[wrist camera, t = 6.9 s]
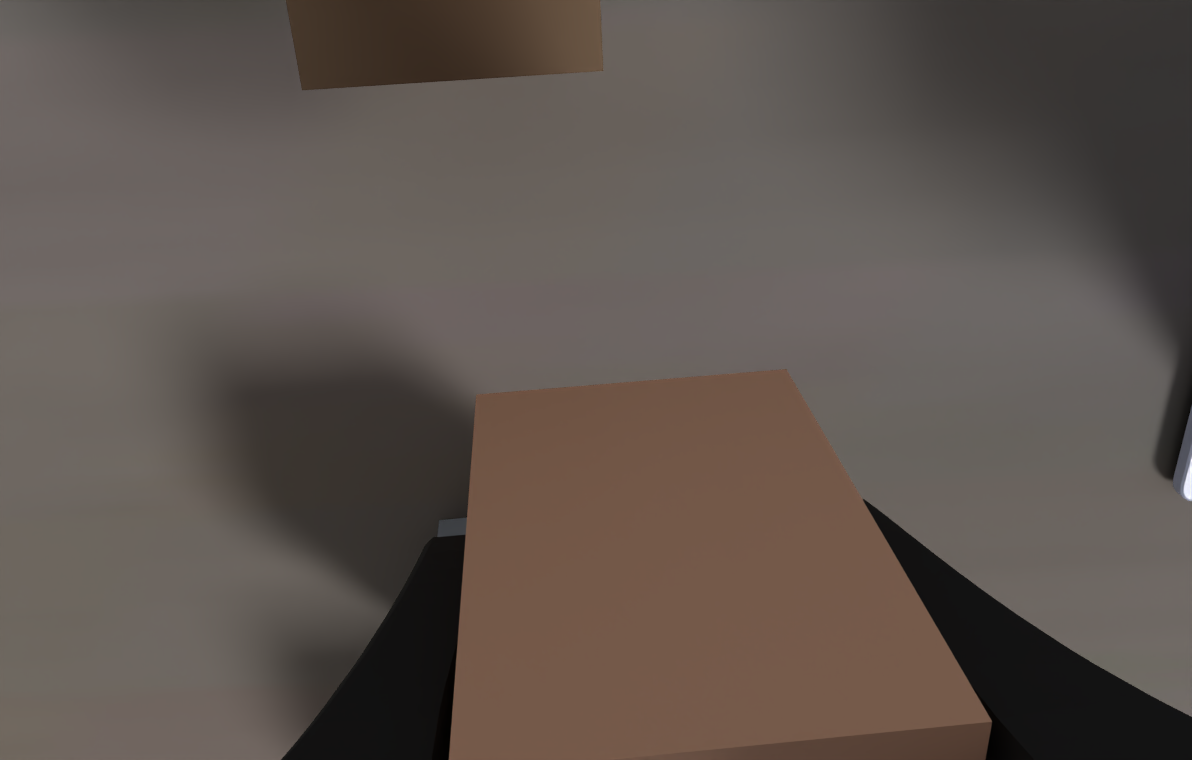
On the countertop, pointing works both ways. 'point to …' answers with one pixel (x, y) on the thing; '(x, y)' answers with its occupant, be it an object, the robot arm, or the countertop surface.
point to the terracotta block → (688, 588)
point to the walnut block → (441, 40)
